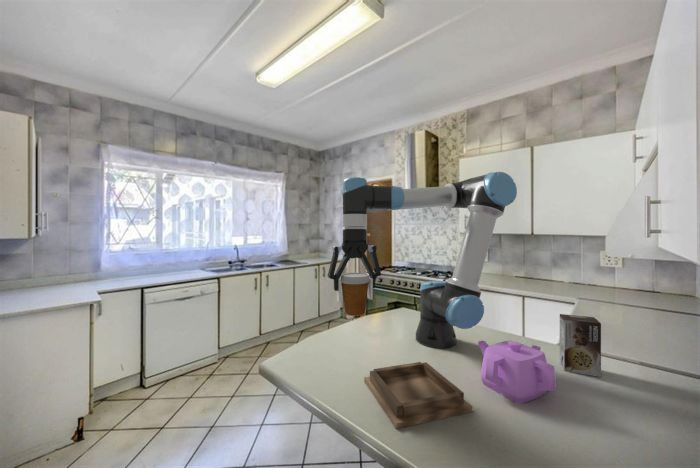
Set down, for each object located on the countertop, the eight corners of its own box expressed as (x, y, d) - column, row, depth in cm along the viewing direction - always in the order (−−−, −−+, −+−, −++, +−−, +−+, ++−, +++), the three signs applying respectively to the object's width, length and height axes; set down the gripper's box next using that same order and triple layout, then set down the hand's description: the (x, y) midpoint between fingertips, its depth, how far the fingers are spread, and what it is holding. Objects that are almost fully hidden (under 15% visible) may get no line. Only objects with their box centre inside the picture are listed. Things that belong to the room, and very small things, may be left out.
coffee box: (593, 368, 89) (594, 316, 89) (601, 377, 83) (602, 323, 83) (558, 362, 93) (559, 313, 93) (563, 371, 87) (564, 318, 87)
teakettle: (485, 399, 73) (486, 351, 73) (476, 368, 89) (476, 328, 89) (563, 411, 68) (564, 360, 68) (538, 376, 84) (539, 334, 84)
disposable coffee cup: (367, 318, 84) (367, 277, 83) (336, 316, 85) (336, 276, 85) (372, 309, 93) (371, 272, 93) (343, 308, 95) (343, 272, 94)
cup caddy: (425, 371, 87) (425, 359, 87) (472, 411, 68) (472, 396, 68) (364, 381, 81) (364, 368, 81) (396, 428, 62) (396, 412, 62)
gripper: (382, 228, 95) (382, 294, 96) (317, 228, 89) (317, 299, 89) (392, 228, 88) (392, 299, 89) (322, 228, 82) (322, 305, 82)
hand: (354, 299), depth 89 cm, fingers closed on disposable coffee cup, 9 cm apart
